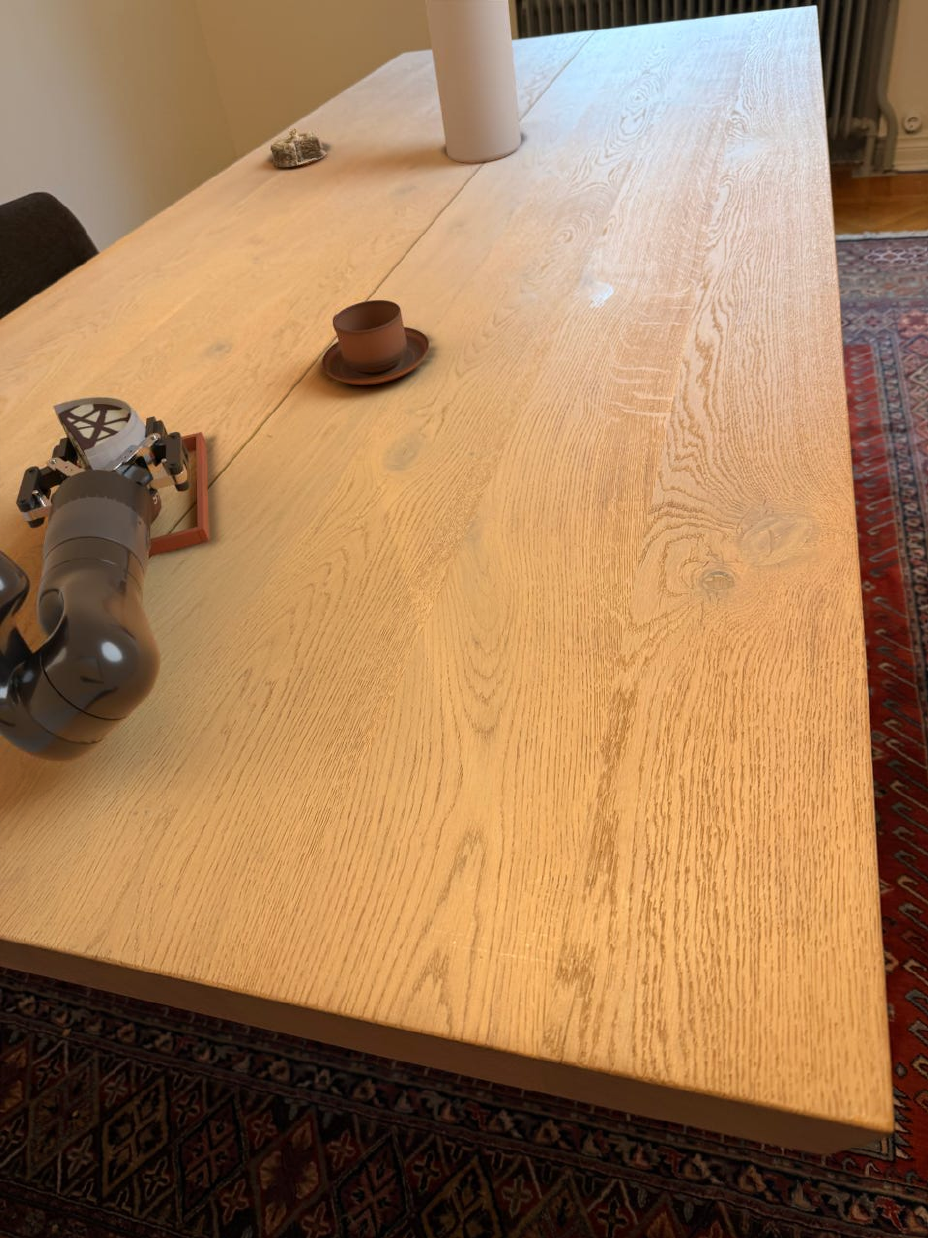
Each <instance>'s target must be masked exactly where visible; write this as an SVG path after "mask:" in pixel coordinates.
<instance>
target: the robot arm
mask: <svg viewBox="0 0 928 1238" xmlns="http://www.w3.org/2000/svg"><path fill="white" fill-rule="evenodd" d="M145 426H146V429H145V437H146V438H145V439H144V440H143V441H142V442H141V443H140V444H139V445H131V446H130V447H129V448H128V449H127V450H125V451H124V452H123V453H122V454H121V455H120V456H119V457H118V458H117V459H116V460H115V461H113V460H112V461H110V462H109V463H108V464H107V465H106V466H105V467H104V470H92V469H91V467H90V466H87V467H85V468H84V469H83V468H81V469H80V468H79V467H77V463H78V454H77V451H76V449H75V447H74V445H73V443H72V441H71V439H70V438H69V437H67V436H66V437H63V438H59V443H58V444H56V445H55V446H54V448H53V451H52V454H51V458H50V459H48V460H46V463H45V464H46V466H43V467H42V468H39V466H37V465H34V466H29V467H28V468H27V469H25V470H24V473H23V476H22V480H21V483H20V487H19V491H18V494H17V497H16V501H15V504H16V506H17V509H19V511H20V513H21V515H22V516H23V518H24V520H25V521H26V523H27V525H28V526H29V528H30V529H37V528H40V527H42V525H43V524H44V523H45V519H46V517H48V520H47V524H46V525H47V526H46V531H45V536H44V540H43V546H42V568H41V574H40V579H39V584H38V590H37V596H36V607H35V608H36V609H35V610H36V618H37V622H38V625H39V627H40V630H41V631H42V632H43V634H44V636H45V637H46V639H45V640H44V641H43V642H42V644H40V645H39V646H38V647H37V648H36V650H35V651H33V649H32V648H31V647H30V645H29V644H28V642H27V640H26V639H25V638H24V636H23V634H22V632H21V631H20V629H19V626H18V617H19V615H20V612H21V610H22V608H23V606H24V604H25V602H26V600H27V598H28V595H29V593H30V590H31V581H30V578H29V576H28V575H27V572H26V571H25V570H24V569H23V568H21V566H20V565H19V564H18V563H16V561H14V560H13V559H12V558H11V557H10V556H9V555H7V554H6V553H5V552H3V551H2V550H1V549H0V735H1V736H2V737H3V738H4V739H5V740H6V741H7V742H8V743H9V744H11V745H12V746H14V747H15V748H17V749H18V750H20V751H22V752H23V753H26V754H27V755H30V756H31V757H34V758H37V759H41V760H43V761H47V762H53V763H69V762H73V761H76V760H79V759H81V758H83V757H85V756H86V755H88V754H89V753H91V752H92V751H93V750H94V749H96V747H98V746H99V745H100V744H101V743H102V742H103V741H104V740H105V739H106V738H107V737H108V736H109V735H110V734H111V733H112V732H113V731H115V730H116V728H118V727H119V725H120V726H121V724H122V723H123V722H124V721H126V719H127V718H128V717H129V716H131V714H132V713H134V712H135V711H136V710H137V709H138V708H139V707H140V706H141V705H142V704H143V703H144V702H145V701H146V700H147V699H148V697H149V696H150V695H151V693H152V691H153V690H154V689H155V686H156V684H157V680H158V678H159V674H160V670H161V661H162V660H161V653H160V648H159V646H158V643H157V641H156V639H155V636H154V633H153V631H152V628H151V625H150V623H149V620H148V619H149V618H148V617H147V615H146V612H145V610H144V607H143V596H144V584H145V583H144V581H145V578H146V577H145V576H146V574H147V569H148V566H149V559H150V556H149V550H150V547H151V541H150V539H151V526H152V524H151V499H152V498H153V497H154V495H155V494H156V493H157V489H158V490H159V489H162V488H163V489H164V488H167V487H170V486H174V487H175V490H176V491H177V492H178V493H179V492H185V491H187V490H189V489H190V488H191V458H190V454H189V451H187V449H186V447H185V445H184V442H183V440H182V437H183V436H182V435H181V432H179V431H173V432H170V433H168V430H167V428H166V426H165V424H164V422H163V420H161V419H159V420H157V418H156V417H155V415H154V416H149V417H146V419H145ZM151 451H152V453H153V455H154V458H153V459H151V457H150V452H151ZM134 461H135V463H136V464H134V463H133V462H134ZM57 486H58V487H57ZM55 487H57V489H56V490H55V491H54V492H53V493H52V488H55ZM51 494H52V495H51Z"/></svg>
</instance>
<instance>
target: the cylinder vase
mask: <svg viewBox="0 0 928 1238" xmlns="http://www.w3.org/2000/svg"><path fill="white" fill-rule="evenodd" d="M424 2H425V3H424V4H425V10H426V17H427V23H428V30H429V39H430V44H431V50H432V51H431V52H432V58H433V64H434V72H435V79H436V86H437V91H438V99H439V104H440V105H439V107H440V113H441V121H442V126H443V127H442V128H443V133H444V141H445V147H446V154H447V156H448V157H449V158H450V159H451V160H452V161H455V162H458V163H463V162H464V164H476V163H475V162H479V163H485V161H486V162H491V161H490V160H492V161H496V160H499V159H502V158H505V157H507V156H510V155H512V154H513V153H515V152H516V151H517V150H518V149H519V148H520V146H521V144H522V138H521V137H522V135H521V125H520V124H521V123H520V114H519V102H518V94H517V82H516V71H515V70H516V69H515V58H514V49H513V38H512V28H511V15H510V7H509V5H510V4H509V0H424ZM509 154H510V155H509ZM504 156H505V157H504ZM498 158H499V159H498ZM495 159H496V160H495Z"/></svg>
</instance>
